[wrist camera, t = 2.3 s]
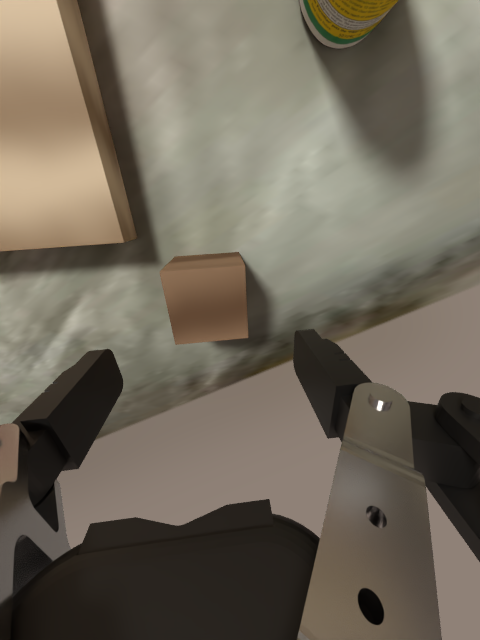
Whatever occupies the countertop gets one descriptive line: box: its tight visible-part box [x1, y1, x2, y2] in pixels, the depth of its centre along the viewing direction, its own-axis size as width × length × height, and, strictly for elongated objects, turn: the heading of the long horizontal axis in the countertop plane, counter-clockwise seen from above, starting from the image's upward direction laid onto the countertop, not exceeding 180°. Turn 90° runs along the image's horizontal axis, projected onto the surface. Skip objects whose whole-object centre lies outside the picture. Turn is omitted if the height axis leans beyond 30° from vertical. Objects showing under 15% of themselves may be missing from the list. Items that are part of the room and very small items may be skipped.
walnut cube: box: [160, 252, 248, 345], centre depth 16 cm, size 5×5×5 cm
